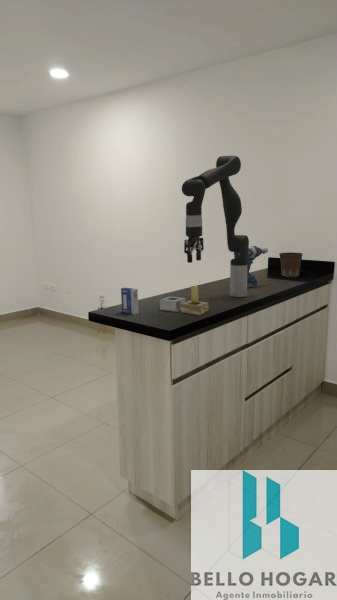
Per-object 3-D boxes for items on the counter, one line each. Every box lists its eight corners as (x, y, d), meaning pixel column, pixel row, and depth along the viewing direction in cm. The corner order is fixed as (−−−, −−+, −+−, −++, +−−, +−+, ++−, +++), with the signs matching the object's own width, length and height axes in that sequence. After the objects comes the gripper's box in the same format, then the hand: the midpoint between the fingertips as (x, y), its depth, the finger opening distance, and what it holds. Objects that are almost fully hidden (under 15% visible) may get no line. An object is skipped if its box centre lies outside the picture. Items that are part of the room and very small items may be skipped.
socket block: (169, 306, 207) (169, 296, 205) (185, 307, 202) (185, 298, 201) (160, 309, 199) (160, 299, 198) (176, 311, 194) (176, 301, 193)
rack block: (190, 308, 201) (190, 300, 200) (208, 310, 195) (208, 302, 195) (180, 312, 193) (180, 304, 192) (199, 314, 188) (199, 306, 187)
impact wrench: (269, 286, 255) (270, 245, 250) (237, 289, 247) (238, 247, 242) (262, 284, 262) (263, 244, 257) (231, 287, 254) (231, 246, 249)
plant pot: (293, 278, 282) (294, 255, 278) (273, 276, 294) (274, 253, 290) (306, 276, 292) (307, 253, 289) (286, 273, 304) (287, 252, 301)
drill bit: (193, 310, 196) (193, 285, 194) (199, 311, 195) (199, 286, 192) (190, 311, 194) (190, 286, 191) (196, 312, 192) (196, 287, 190)
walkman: (121, 312, 195) (120, 287, 193) (125, 311, 198) (124, 286, 195) (134, 314, 191) (133, 289, 189) (138, 313, 193) (137, 288, 191)
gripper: (194, 225, 194) (194, 259, 197) (178, 226, 182) (179, 262, 185) (208, 225, 190) (208, 260, 193) (193, 226, 178) (194, 263, 182)
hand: (194, 261), depth 189 cm, fingers open, 8 cm apart
